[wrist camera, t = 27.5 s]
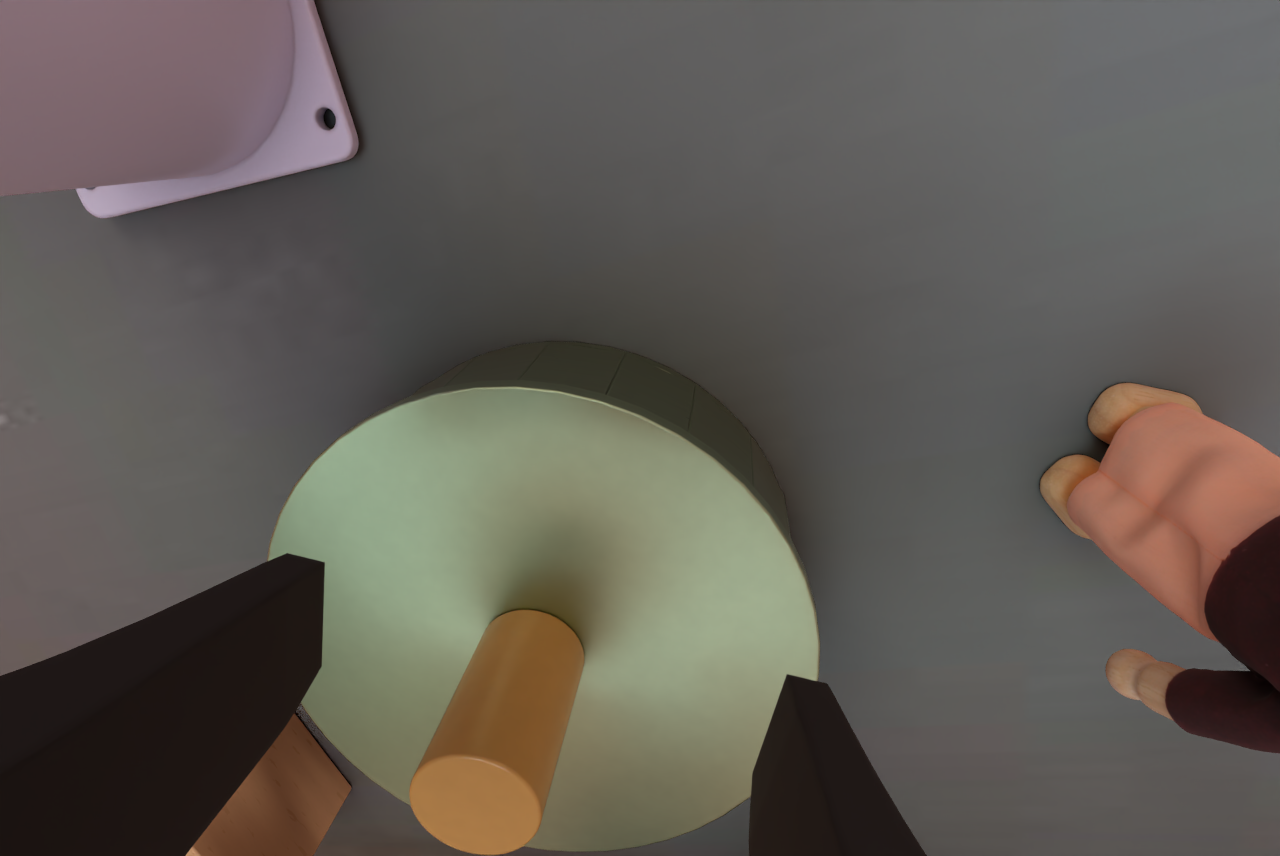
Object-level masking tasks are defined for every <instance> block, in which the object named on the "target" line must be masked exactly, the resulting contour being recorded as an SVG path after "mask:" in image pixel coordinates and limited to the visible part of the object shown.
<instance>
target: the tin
mask: <svg viewBox="0 0 1280 856" xmlns="http://www.w3.org/2000/svg"><path fill="white" fill-rule="evenodd" d="M498 380H526V381H536V382H546V383H555V384H564V385H568V386H572V387H577V388H581V389H585V390H590V391H594V392H598V393H603V394H606V395H608V396H611V397H614V398H617V399H619V400H622V401H625V402H628V403H630V404H633V405H636V406H639V407H641V408H644V409H646V410H648V411H650V412H652V413H654V414H655V415H657V416H659V417H661V418H663V419H665V420H667V421H669V422H671V423H673V424H675V425H677V426H679V427H681V428H682V429H684V430H685V431H687V432H688V433H690V434H691V435H693V436H694V437H696V438H697V439H699V440H700V441H702V442H703V443H705V444H706V445H707V446H709V447H710V448H712V449H713V450H715V451H716V452H717V453H718V454H719V455H720V456H722V457H723V458H724V459H725V460H726V461H727V462H728V463H730V464H731V465H732V466H733V467H734V468H735V469H736V470H737V471H739V472H740V473H741V474H742V475H743V476H744V477H745V478H746V479H747V480H748V481H749V482H750V484H751V485H752V486H753V487H754V488H755V489H756V490H757V492H758V493H759V494H760V495H761V496H762V497H763V498H764V500H765V501H766V502H767V503H768V504H769V505H770V507H771V508H772V510H773V511H774V513H775V514H776V516H777V517H778V519H779V520H780V522H781V524H782V525H783V527H784V528H785V530H786V531H787V533H788V534H789V536H790V538H791V535H790V528H789V521H788V516H787V509H786V503H785V497H784V495H783V492H782V491H781V489H780V487H779V485H778V483H777V480H776V478H775V475H774V473H773V470H772V468H771V467H770V465H769V463H768V461H767V460H766V458H765V456H764V454H763V453H762V451H761V449H760V447H759V446H758V444H757V443H756V442H755V440H754V439H753V438H752V436H751V435H750V434H749V433H748V431H747V430H746V429H745V427H744V426H743V425H742V424H741V422H740V421H739V420H738V419H737V418H736V417H735V416H734V415H733V414H732V413H731V412H730V411H729V410H728V409H727V408H726V407H725V406H724V405H723V404H722V403H721V402H720V401H718V400H717V399H716V398H714V397H713V396H712V395H710V394H709V393H708V392H706V391H705V390H704V389H703V388H701V387H700V386H699V385H697V384H696V383H695V382H693V381H691V380H689V379H688V378H686V377H684V376H682V375H681V374H679V373H677V372H675V371H674V370H672V369H670V368H669V367H666V366H664V365H662V364H659V363H657V362H654V361H652V360H650V359H647V358H645V357H643V356H640V355H637V354H634V353H630V352H626V351H623V350H619V349H616V348H612V347H608V346H602V345H595V344H588V343H581V342H550V341H547V342H538V343H529V344H520V345H515V346H511V347H507V348H503V349H499V350H495V351H491V352H488V353H485V354H483V355H479V356H476V357H474V358H472V359H471V360H468V361H466V362H463V363H462V364H460V365H458V366H456V367H455V368H453V369H451V370H450V371H448V372H446V373H445V374H443V375H441V376H439V377H438V378H437V379H435V380H434V381H432V382H430V383H428V384H427V385H425V386H423V387H421V388H420V389H419V390H418V391H416V392H415V393H414V394H413V395H412V396H414V395H417V394H421V393H424V392H427V391H430V390H434V389H437V388H440V387H445V386H452V385H458V384H464V383H471V382H477V381H498ZM410 397H411V396H410Z"/></svg>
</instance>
